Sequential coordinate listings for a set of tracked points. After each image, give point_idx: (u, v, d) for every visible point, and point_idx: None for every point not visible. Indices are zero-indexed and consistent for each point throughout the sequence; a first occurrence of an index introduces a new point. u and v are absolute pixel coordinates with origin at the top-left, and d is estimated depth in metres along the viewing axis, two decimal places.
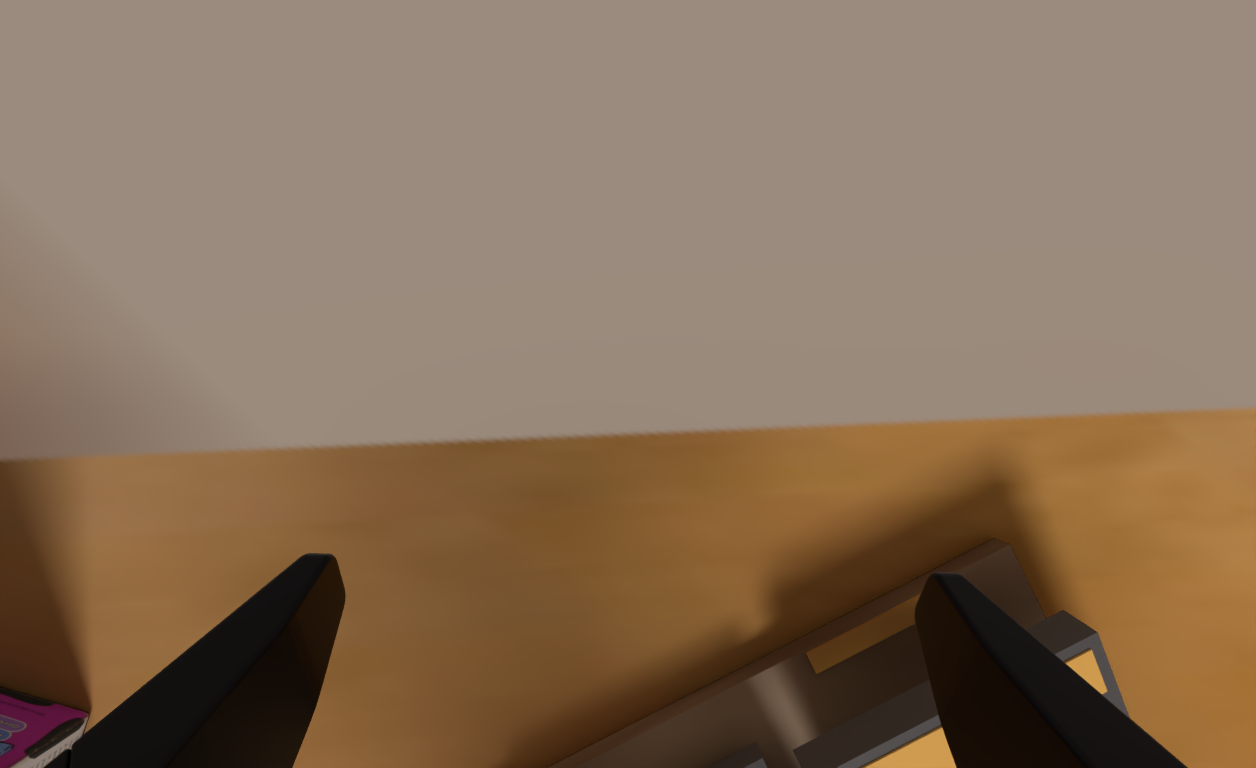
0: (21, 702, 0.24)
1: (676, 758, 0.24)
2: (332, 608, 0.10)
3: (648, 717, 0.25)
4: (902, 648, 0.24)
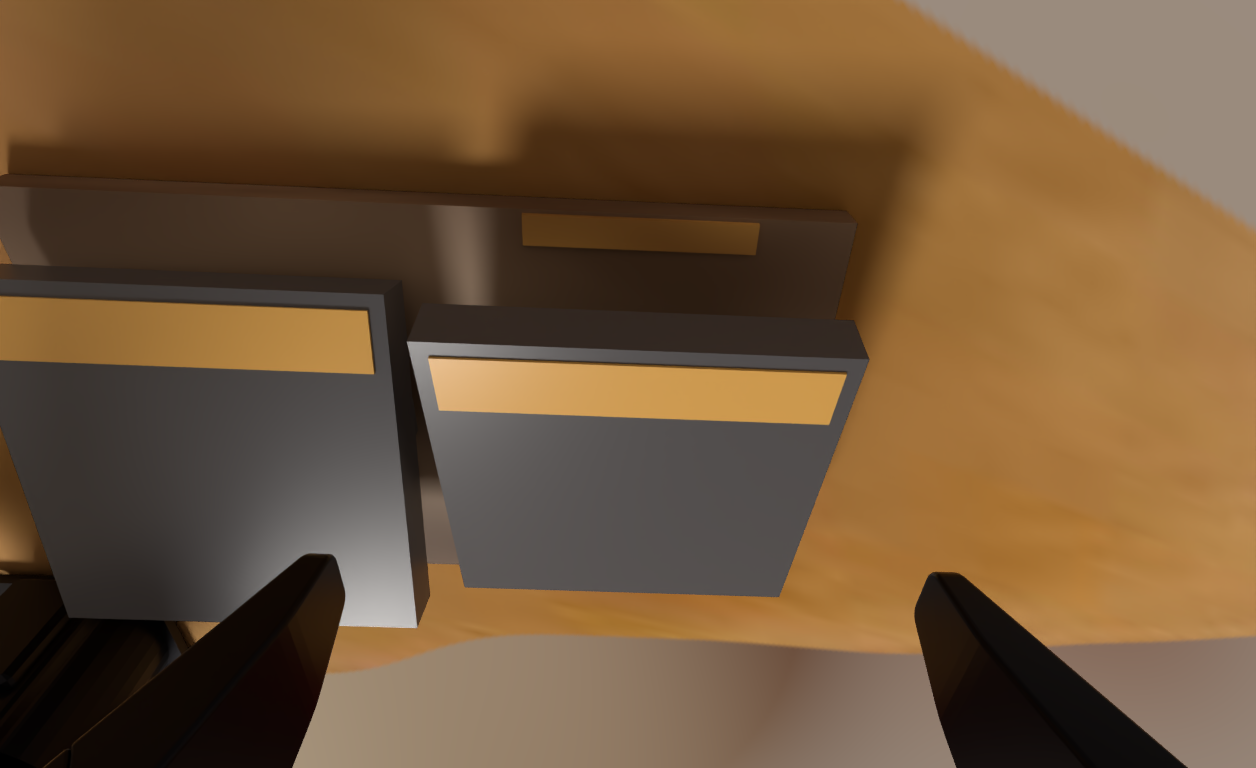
0: None
1: (297, 250, 0.17)
2: (332, 608, 0.10)
3: (284, 187, 0.17)
4: (647, 274, 0.18)
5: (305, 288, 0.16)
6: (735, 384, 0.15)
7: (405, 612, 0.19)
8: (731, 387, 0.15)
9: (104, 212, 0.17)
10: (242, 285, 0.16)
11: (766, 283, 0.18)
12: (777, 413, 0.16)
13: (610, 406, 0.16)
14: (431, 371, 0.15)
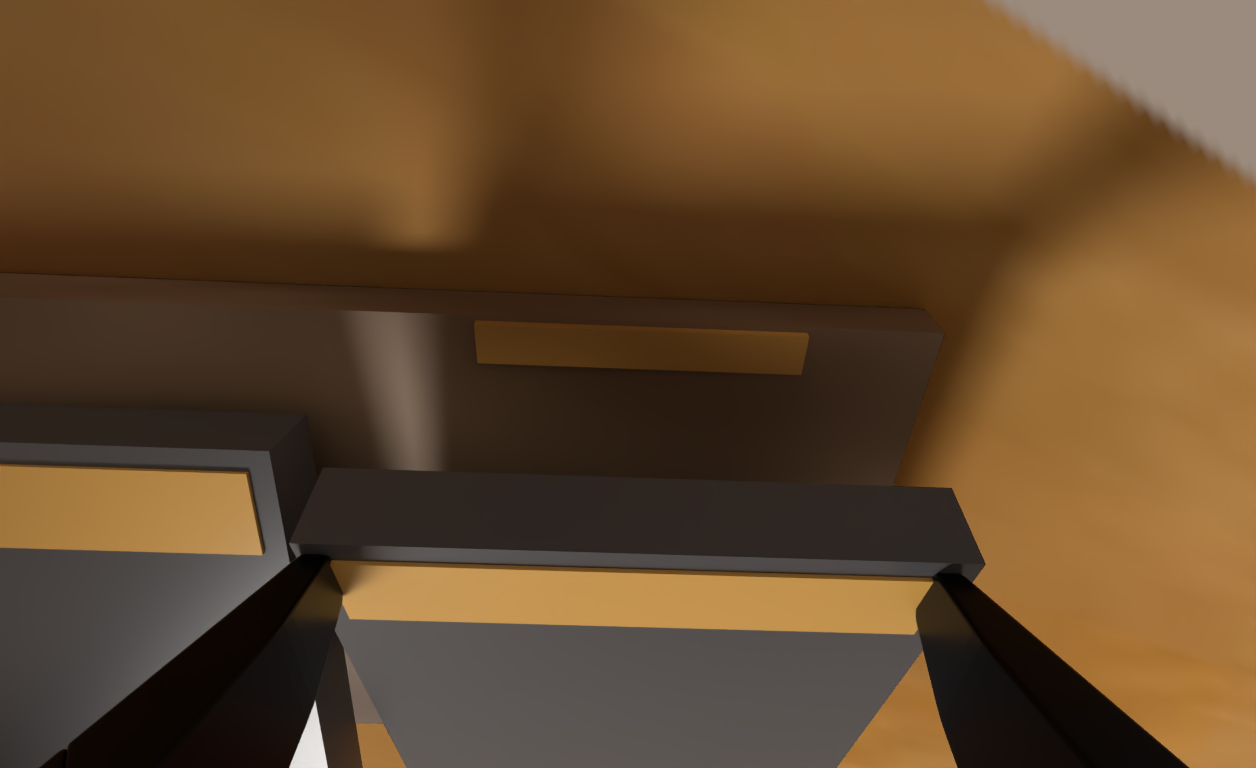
0: None
1: (164, 369, 0.12)
2: (329, 608, 0.10)
3: (147, 281, 0.12)
4: (651, 396, 0.13)
5: (158, 439, 0.11)
6: (782, 590, 0.10)
7: None
8: (776, 592, 0.10)
9: None
10: (67, 435, 0.11)
11: (814, 408, 0.13)
12: (841, 621, 0.11)
13: (599, 614, 0.11)
14: None
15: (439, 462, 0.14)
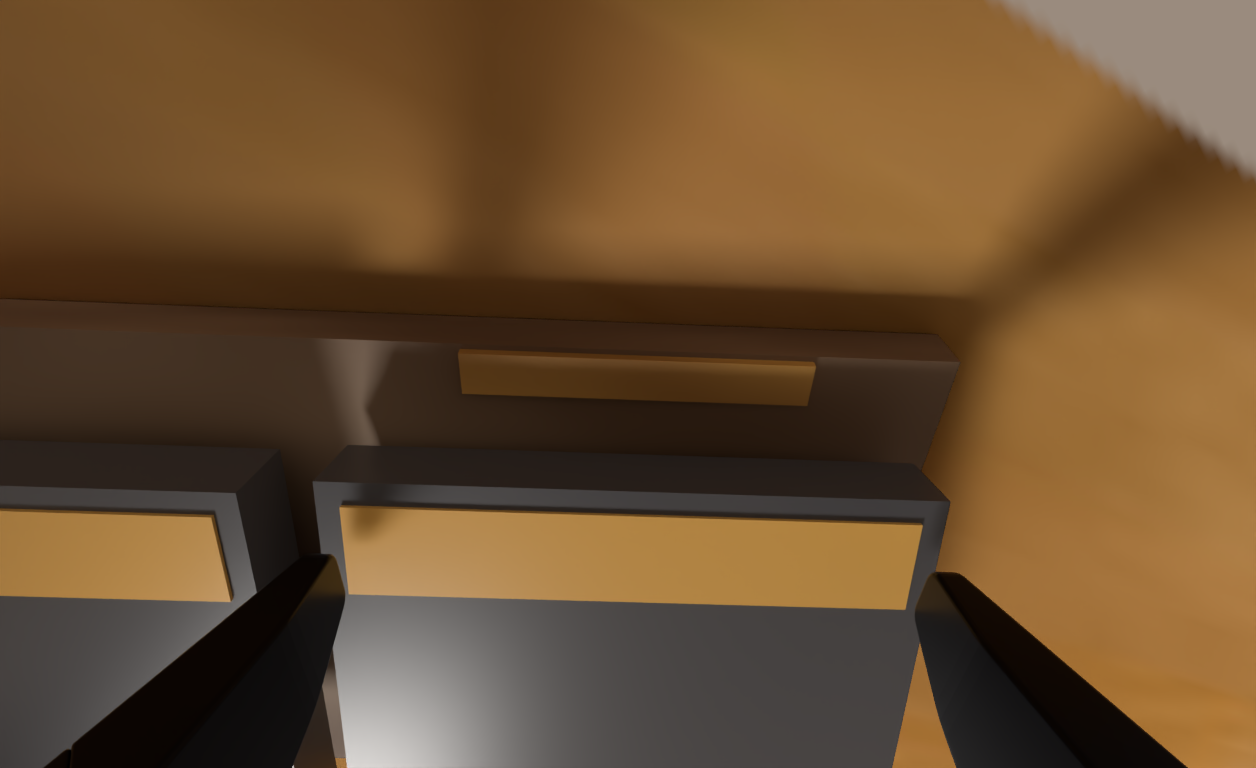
0: None
1: (129, 400, 0.12)
2: (332, 608, 0.10)
3: (110, 306, 0.12)
4: (647, 428, 0.12)
5: (117, 480, 0.10)
6: (769, 544, 0.11)
7: None
8: (763, 550, 0.11)
9: None
10: (19, 475, 0.10)
11: (820, 439, 0.12)
12: (831, 593, 0.11)
13: (595, 584, 0.11)
14: (343, 529, 0.11)
15: None
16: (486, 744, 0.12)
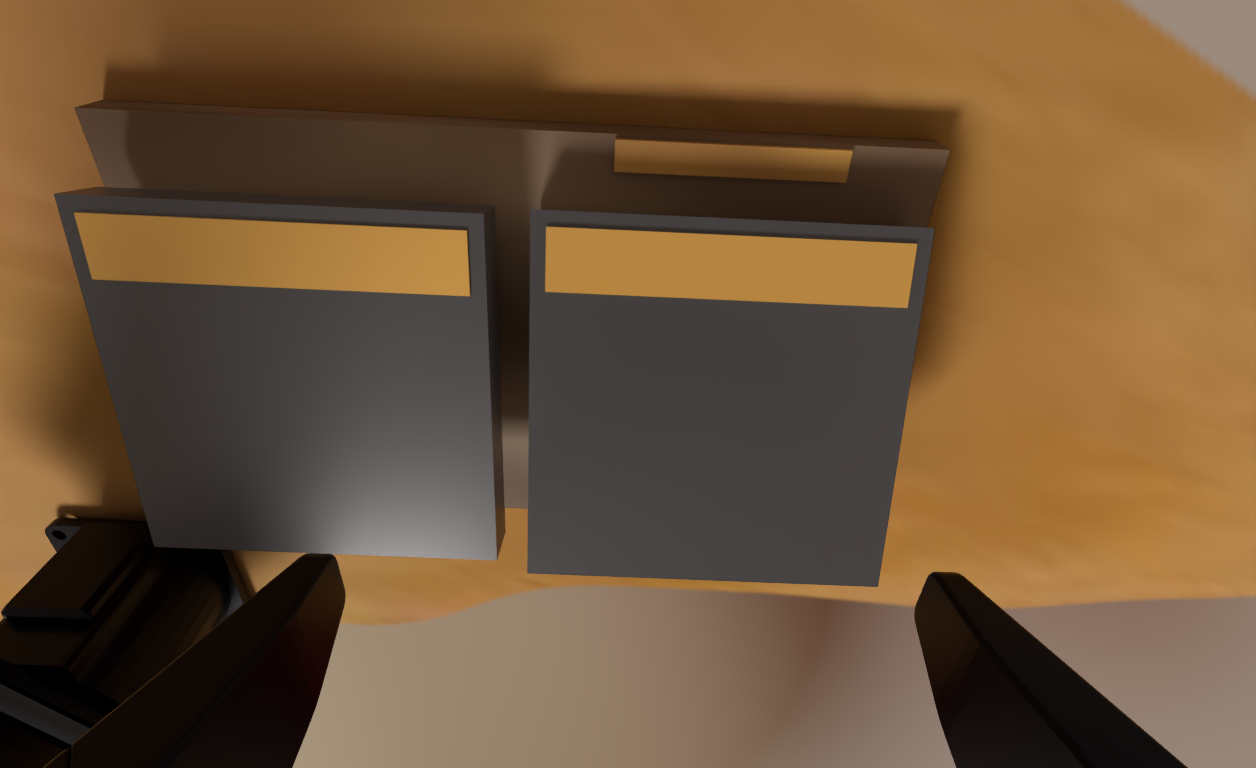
0: None
1: (388, 177, 0.17)
2: (332, 608, 0.10)
3: (376, 114, 0.17)
4: (735, 202, 0.18)
5: (405, 208, 0.16)
6: (818, 259, 0.17)
7: (486, 544, 0.19)
8: (814, 264, 0.17)
9: (199, 136, 0.17)
10: (342, 205, 0.16)
11: (854, 213, 0.18)
12: (858, 296, 0.17)
13: (704, 288, 0.17)
14: (546, 243, 0.16)
15: None
16: (624, 414, 0.18)
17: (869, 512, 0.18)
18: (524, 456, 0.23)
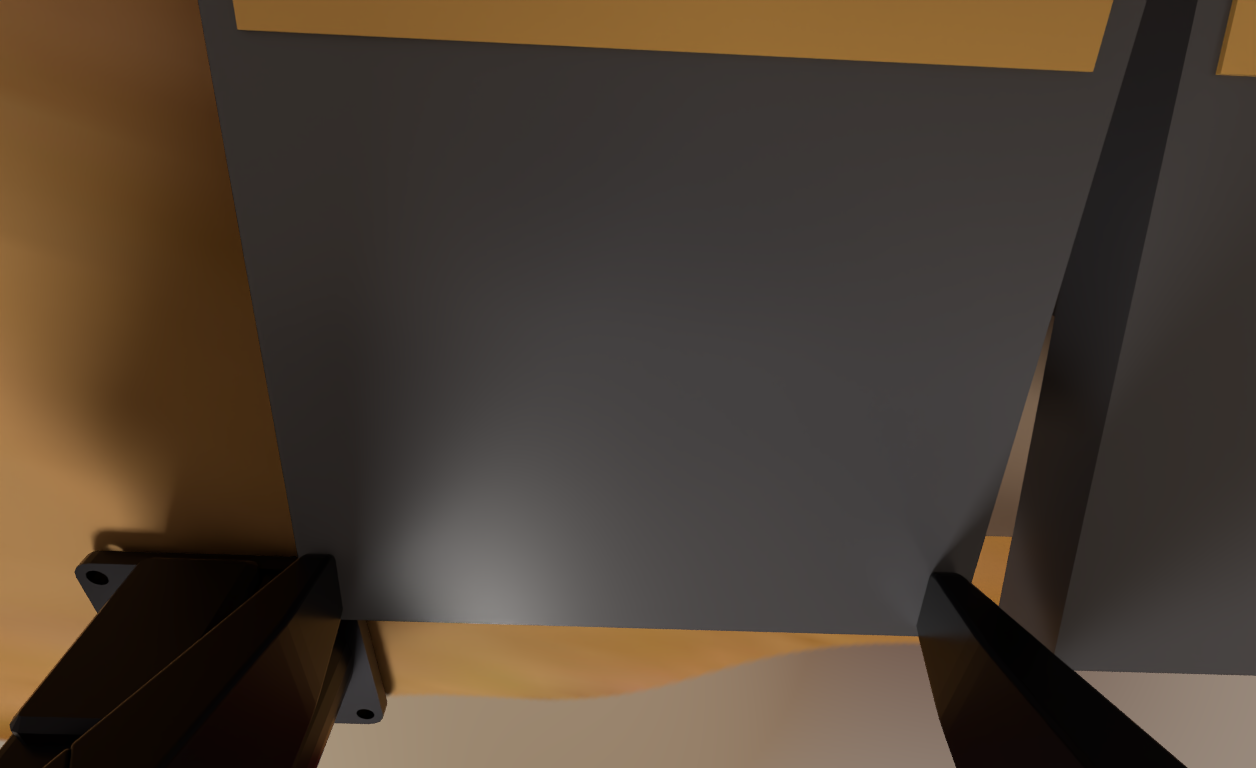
0: None
1: None
2: (332, 608, 0.10)
3: None
4: None
5: None
6: None
7: None
8: None
9: None
10: None
11: None
12: None
13: None
14: None
15: None
16: None
17: None
18: None
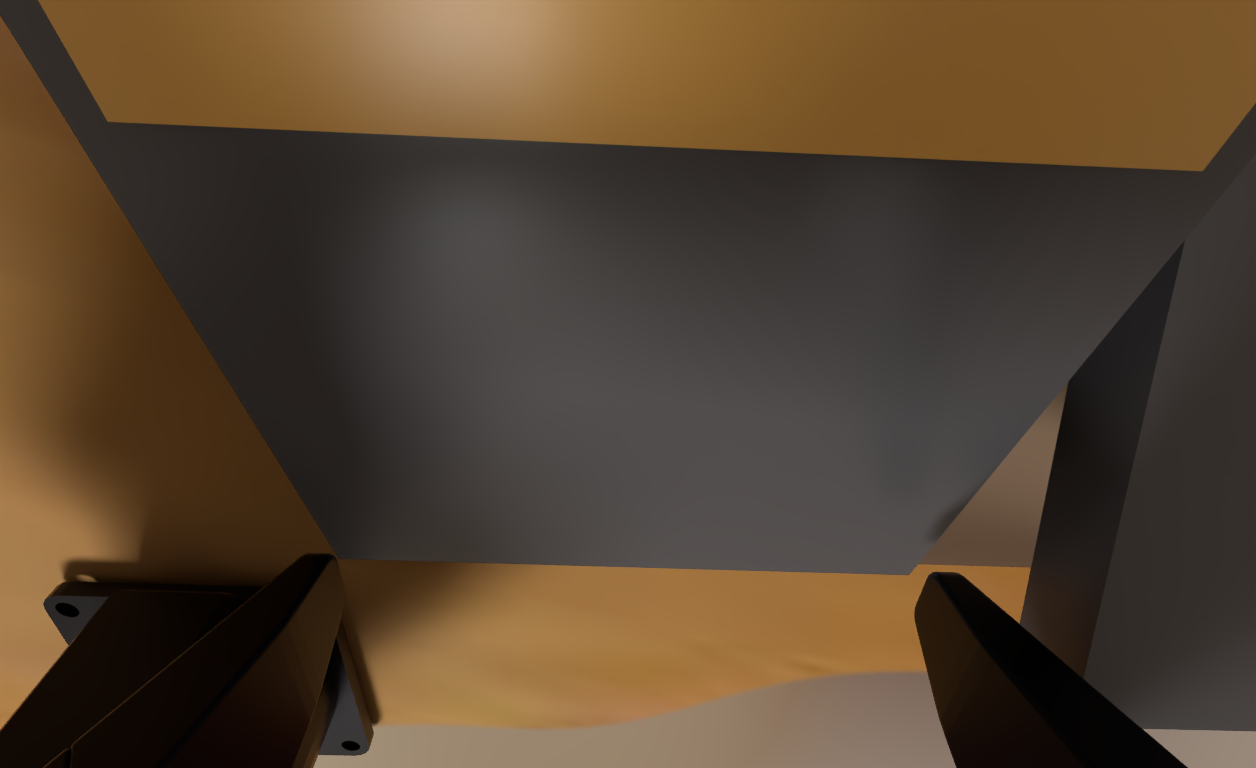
0: None
1: None
2: (332, 608, 0.10)
3: None
4: None
5: None
6: None
7: (904, 560, 0.11)
8: None
9: None
10: None
11: None
12: None
13: None
14: None
15: None
16: None
17: None
18: None
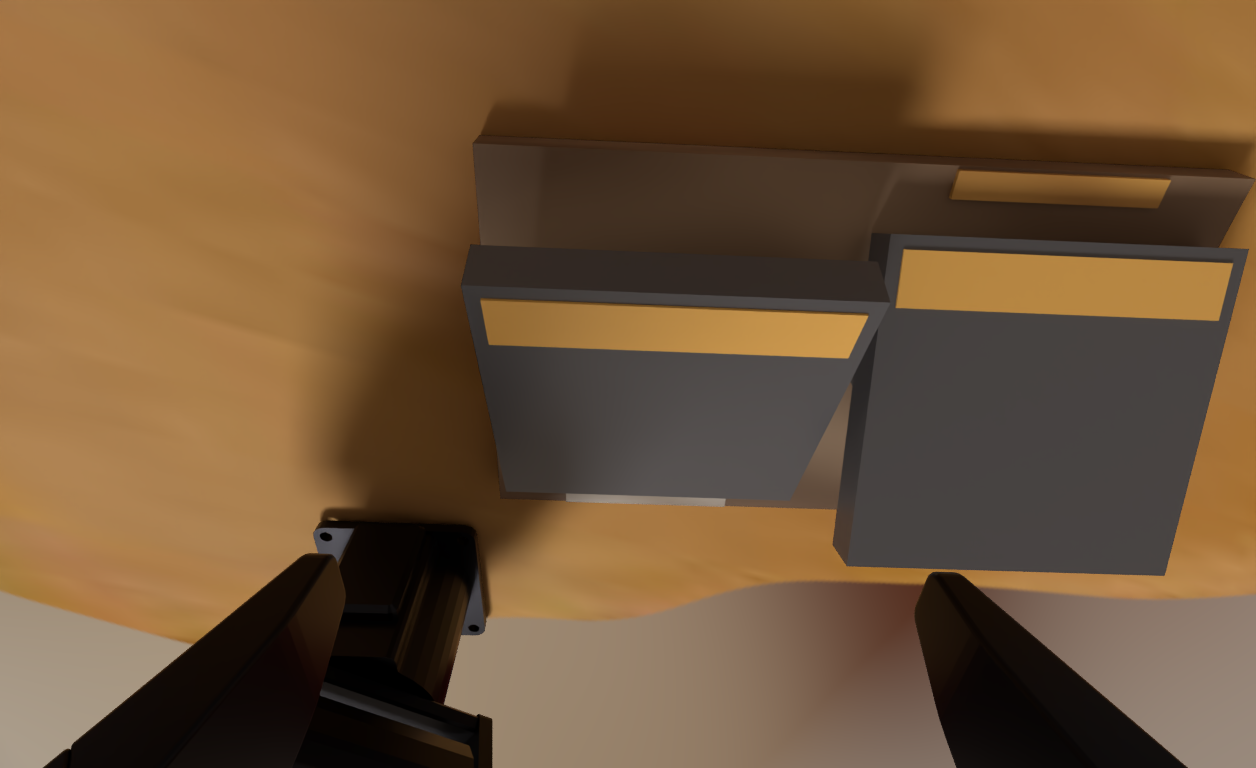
0: None
1: (742, 204, 0.19)
2: (332, 608, 0.10)
3: (730, 147, 0.19)
4: (1050, 226, 0.19)
5: (807, 291, 0.16)
6: (1142, 277, 0.18)
7: (785, 492, 0.23)
8: (1138, 281, 0.19)
9: (579, 168, 0.19)
10: (744, 287, 0.16)
11: (1155, 235, 0.20)
12: (1174, 310, 0.19)
13: (1038, 303, 0.19)
14: (901, 264, 0.18)
15: None
16: (953, 419, 0.19)
17: (1164, 506, 0.20)
18: None
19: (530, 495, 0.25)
